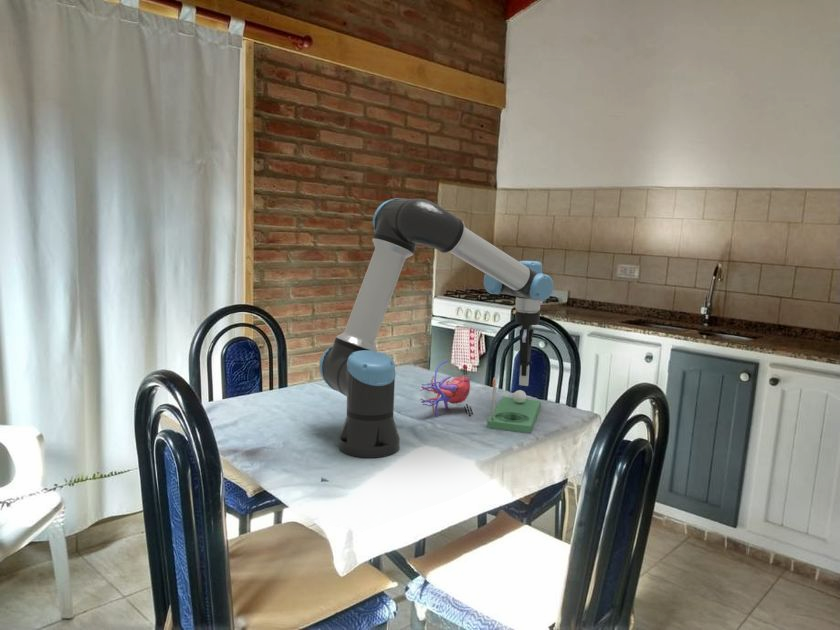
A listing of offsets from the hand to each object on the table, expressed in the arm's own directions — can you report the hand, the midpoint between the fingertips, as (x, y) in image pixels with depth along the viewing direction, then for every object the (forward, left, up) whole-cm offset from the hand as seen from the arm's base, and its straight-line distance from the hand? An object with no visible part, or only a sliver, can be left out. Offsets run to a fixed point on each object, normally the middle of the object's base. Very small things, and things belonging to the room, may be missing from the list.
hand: (523, 384), depth 203 cm
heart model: (-19, +19, -6) cm, 28 cm away
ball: (-7, 0, -2) cm, 7 cm away
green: (-15, 0, -6) cm, 16 cm away
